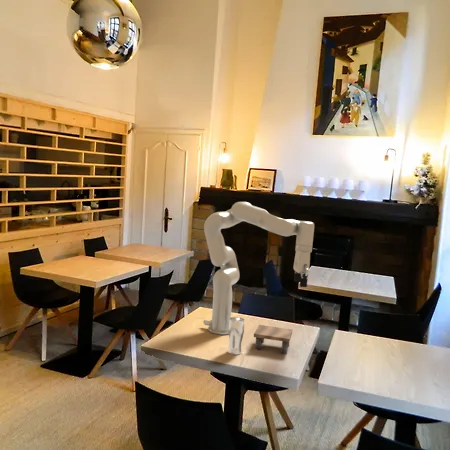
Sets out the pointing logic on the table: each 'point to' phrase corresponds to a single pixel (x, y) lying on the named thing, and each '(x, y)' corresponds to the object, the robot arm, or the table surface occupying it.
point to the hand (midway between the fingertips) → (300, 284)
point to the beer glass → (235, 335)
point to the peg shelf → (272, 336)
